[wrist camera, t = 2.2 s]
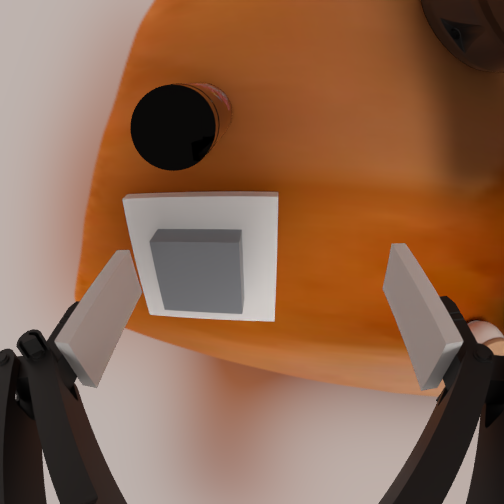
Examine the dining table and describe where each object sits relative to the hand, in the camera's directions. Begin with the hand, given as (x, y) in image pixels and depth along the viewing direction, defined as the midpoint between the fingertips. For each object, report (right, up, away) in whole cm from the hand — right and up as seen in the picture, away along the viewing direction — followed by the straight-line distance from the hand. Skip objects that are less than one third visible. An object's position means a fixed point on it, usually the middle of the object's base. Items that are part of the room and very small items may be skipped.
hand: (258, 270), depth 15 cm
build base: (-6, 0, +24) cm, 25 cm away
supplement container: (-6, +15, +15) cm, 22 cm away
